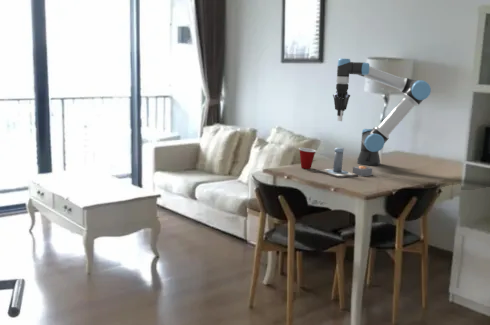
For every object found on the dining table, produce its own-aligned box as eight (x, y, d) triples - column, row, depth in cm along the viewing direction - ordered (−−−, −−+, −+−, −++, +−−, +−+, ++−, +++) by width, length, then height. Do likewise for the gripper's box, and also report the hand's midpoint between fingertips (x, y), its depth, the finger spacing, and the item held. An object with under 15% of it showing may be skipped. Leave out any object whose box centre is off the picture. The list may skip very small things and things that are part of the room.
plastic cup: (314, 170, 333) (315, 150, 331) (296, 169, 335) (297, 149, 333) (315, 167, 344) (317, 148, 342) (298, 166, 346) (299, 147, 344)
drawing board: (336, 169, 339) (336, 167, 339) (358, 176, 322) (358, 174, 321) (316, 171, 331) (316, 169, 331) (337, 178, 314) (338, 175, 314)
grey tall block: (337, 170, 330) (339, 147, 327) (343, 172, 325) (345, 148, 323) (331, 171, 327) (332, 147, 325) (336, 172, 323) (338, 149, 320)
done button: (362, 169, 331) (363, 165, 330) (367, 171, 327) (368, 167, 327) (357, 170, 329) (357, 166, 328) (362, 171, 325) (362, 167, 324)
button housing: (362, 172, 334) (363, 166, 333) (371, 175, 327) (372, 168, 326) (352, 173, 330) (353, 166, 329) (361, 176, 323) (362, 169, 322)
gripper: (346, 83, 353) (343, 120, 357) (330, 83, 346) (328, 120, 350) (354, 83, 347) (351, 121, 351) (338, 83, 340) (336, 121, 344)
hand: (339, 120), depth 350 cm, fingers closed
